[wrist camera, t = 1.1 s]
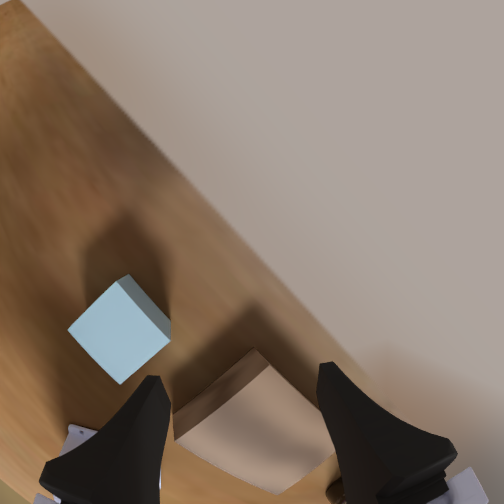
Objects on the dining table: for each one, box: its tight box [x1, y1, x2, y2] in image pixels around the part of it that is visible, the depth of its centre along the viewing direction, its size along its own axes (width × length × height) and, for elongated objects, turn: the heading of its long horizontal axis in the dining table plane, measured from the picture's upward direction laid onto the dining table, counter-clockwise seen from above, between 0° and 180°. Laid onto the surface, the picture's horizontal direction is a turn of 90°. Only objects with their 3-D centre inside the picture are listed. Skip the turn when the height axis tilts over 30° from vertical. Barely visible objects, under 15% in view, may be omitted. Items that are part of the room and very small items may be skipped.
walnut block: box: [173, 348, 335, 495], centre depth 21 cm, size 10×14×4 cm
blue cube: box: [68, 274, 171, 384], centre depth 17 cm, size 5×5×5 cm
